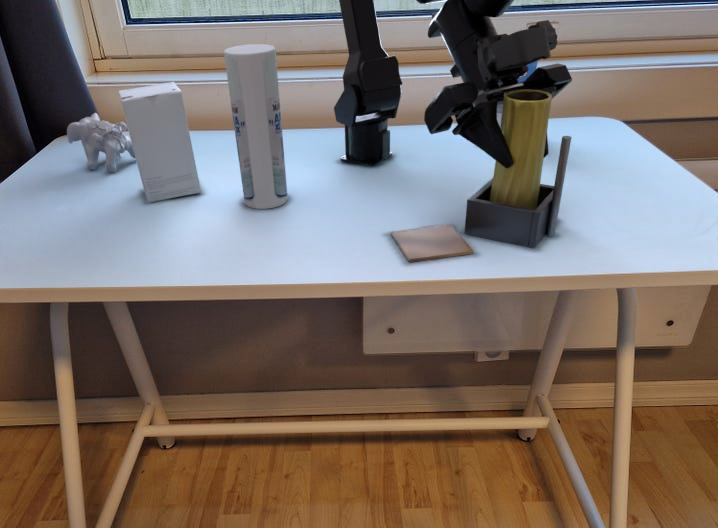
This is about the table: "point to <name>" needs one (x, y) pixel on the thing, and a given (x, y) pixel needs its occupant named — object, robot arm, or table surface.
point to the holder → (518, 211)
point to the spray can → (257, 123)
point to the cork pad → (431, 243)
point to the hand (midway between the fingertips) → (527, 161)
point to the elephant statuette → (100, 140)
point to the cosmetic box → (161, 140)
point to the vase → (522, 148)
